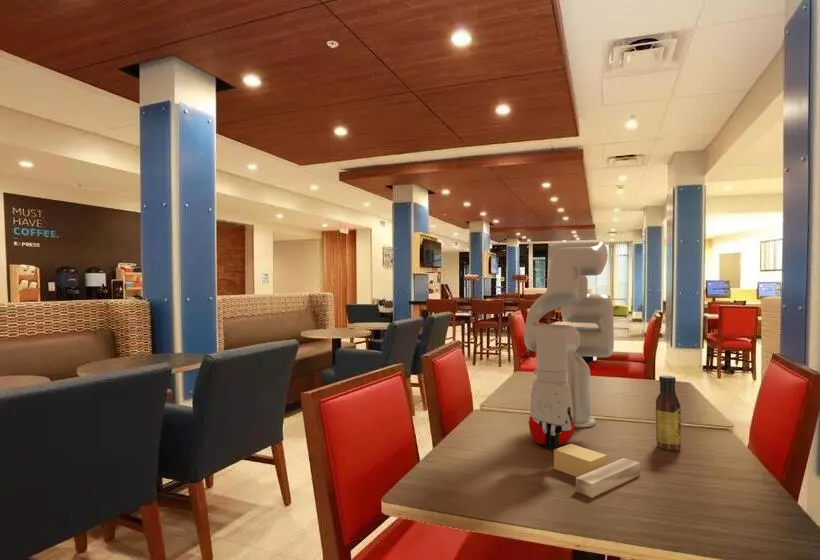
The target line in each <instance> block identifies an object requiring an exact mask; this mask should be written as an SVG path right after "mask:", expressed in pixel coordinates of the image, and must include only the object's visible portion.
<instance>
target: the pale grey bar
mask: <svg viewBox="0 0 820 560" xmlns="http://www.w3.org/2000/svg"><path fill="white" fill-rule="evenodd" d="M640 475H641V462H638V461H635V460H633V459H629V458H626V457H623V458H621V459H618V460H615V461H613V462H611V463H607V465H606V466H603V467H601V468H598V469H596V470H593V471H591V472H589V473H586V474H584V475H581V476H579V477H575V492H577V493H579V494H581V495H584V496H587V497H589V498H591V499H593V498H595V497H596V496H599V495H601V494H603V493H605V492H607V491H610V490H612V489H614V488H616V487H618V486H620V485H622V484H624V483H626V482H629V481H631V480H633V479H635V478H637V477H640Z"/></svg>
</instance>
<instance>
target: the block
mask: <svg viewBox="0 0 820 560" xmlns="http://www.w3.org/2000/svg"><path fill="white" fill-rule="evenodd" d="M553 463H554V464H553V469H554V470H556V471H559V472H563V473H564V474H568V475H570V476H573V477H575V478H577V477H579V476H581V475H584V474H586V473H589V472H591V471H593V470H596V469H598V468H601V467H603V466H606V465H608V455H607V454H604V453H602V452H598V451H594V450H591V449H589V448H585V447H583V446H579V445H577V444H573V443H570V444H566V445H563V446H560V447H559V448H557V449H554V451H553Z"/></svg>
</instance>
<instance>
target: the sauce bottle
mask: <svg viewBox="0 0 820 560" xmlns="http://www.w3.org/2000/svg"><path fill="white" fill-rule="evenodd" d="M658 377H659V379H658V380H659V394H658V395H657V397H656V400H655V436H656V437H655V439H656V446H657V447H658V448H659V449H662V450H665V451H674V452H676V451H680V450H681V447H682V445H681V444H682V411H681V410H682V409H681V407H682V406H681V403H680V401H679V399H678V395H677V392H676V381H677V380H676V377H675V376H673V375H659V376H658Z"/></svg>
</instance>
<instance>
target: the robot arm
mask: <svg viewBox="0 0 820 560" xmlns="http://www.w3.org/2000/svg"><path fill="white" fill-rule="evenodd" d="M548 257H549V260H550V263H549V271H548V278H547V279H548V280H547V288H546V291H545V292H544V293H542V295H540V296H539V297H538V298H537V299H536V300H535V301H534V302H533V304H532V305H531V306H530V308H529V309H528V312H527V315H526V319H525V320H526V321H525V325H524V332H523V333H524V334H523V340H524V345H525V347H526V348H527V350H529V351H532V352H536V368H535V369H534V370H533V374H534V375H536V379H534V380H533V384H532V388H531V392H530V404H529V405H530V407H529V413H530V415H531V417H532V418H533V419H534V421H535V422H537V423H539V424H540V425H541V427H542V428H543V432H544V433H545V445H544V446H545V450H546V451H550V452H554V449H557V448H560V447H559V446H560V445H559V434H560V433H561V432H562V431H568V430H571V429H572V427H571V422H572V420H573V422H574V428H589V427H593V426H595V425H596V419H595V418H594V417H591V370H590V369H591V368H590V367H589V365H588V363H587V362H586V361H585V360H584V358H583V357H594V358H607V357H608V358H609V357H611V356H612V354H613V352H614V348H615V346H614V345H615V344H614V343H615V337H614V335H615V334H614V333H615V332H614V329H615V328H614V308H613V301H612V299H611V298H610V296H608V295H607V294H602V293H600V294H599V293H591V294H590V293H589V290H588V287H589V286H588V284H589V283H588V281H589V280H588V278H587V276H590V277H591V276H592V277H593V276H600V275H601V274H602V273H603V271H604V269H605V267H606V264H607V261H608V249H607V246H606V245H605V243H604V242H602V241H569V242H567V241H566V242H558V243H555V244H554V243H553V245H551V246H550V247H549V249H548ZM559 308H560V313H561V318H562V319H563V321H565V322H567V323H574V324H577V323H578V324H595V325H596V326H597V327H595V326H593V327H592V326H591V327H590V326H576V325H575V326H573V325H569V324H568V325H567V324H556V323H554V324H552V323H551V324H549V323H539V321H540V320H541V319H542V317H543V316H545V315H547V314H548V313H549V312H551V311H554V310H557V309H559ZM563 424H564V425H563Z"/></svg>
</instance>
